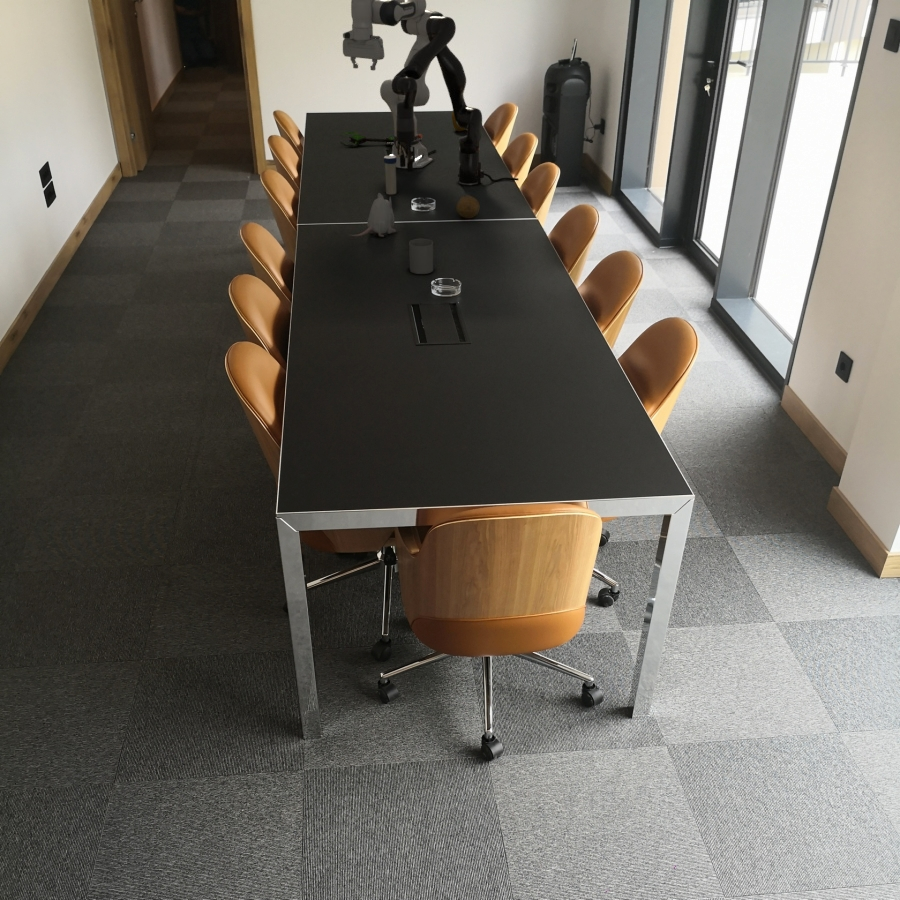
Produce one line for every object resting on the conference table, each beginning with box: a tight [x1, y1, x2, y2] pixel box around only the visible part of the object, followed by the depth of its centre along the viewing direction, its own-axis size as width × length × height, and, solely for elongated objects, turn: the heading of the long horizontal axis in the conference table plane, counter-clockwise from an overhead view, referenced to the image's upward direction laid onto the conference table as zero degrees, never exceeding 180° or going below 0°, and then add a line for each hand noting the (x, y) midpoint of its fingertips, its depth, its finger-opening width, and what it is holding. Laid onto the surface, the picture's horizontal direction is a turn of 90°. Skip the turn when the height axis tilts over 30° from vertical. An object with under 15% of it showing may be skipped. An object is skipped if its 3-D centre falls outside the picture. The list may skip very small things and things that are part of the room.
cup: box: [408, 237, 434, 275], centre depth 305 cm, size 8×8×10 cm
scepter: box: [339, 131, 394, 148], centre depth 461 cm, size 6×13×30 cm
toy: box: [349, 192, 397, 238], centre depth 334 cm, size 9×24×15 cm, turn 137°
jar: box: [384, 163, 398, 195], centre depth 384 cm, size 5×5×15 cm
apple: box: [451, 110, 467, 132], centre depth 487 cm, size 11×11×13 cm
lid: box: [383, 155, 396, 164], centre depth 380 cm, size 6×6×2 cm
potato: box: [456, 195, 481, 219], centre depth 357 cm, size 10×14×8 cm
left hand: (364, 69), depth 380 cm, fingers open, 8 cm apart
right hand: (406, 169), depth 363 cm, fingers open, 8 cm apart
